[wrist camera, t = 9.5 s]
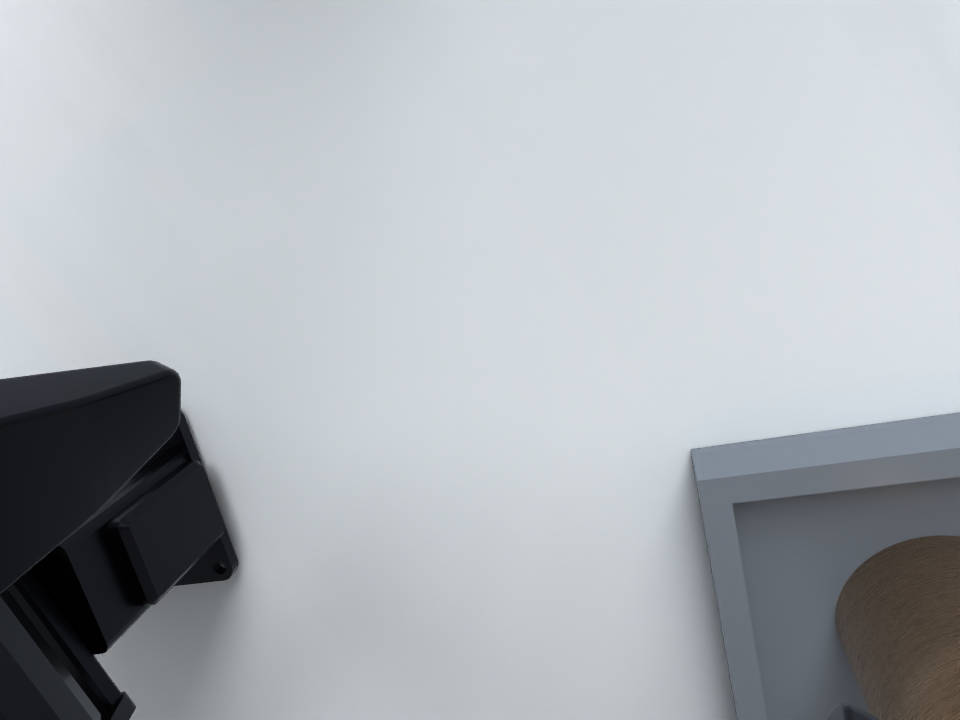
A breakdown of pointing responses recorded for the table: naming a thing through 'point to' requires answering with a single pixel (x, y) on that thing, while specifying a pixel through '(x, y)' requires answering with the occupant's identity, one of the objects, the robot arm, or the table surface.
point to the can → (905, 629)
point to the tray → (813, 546)
